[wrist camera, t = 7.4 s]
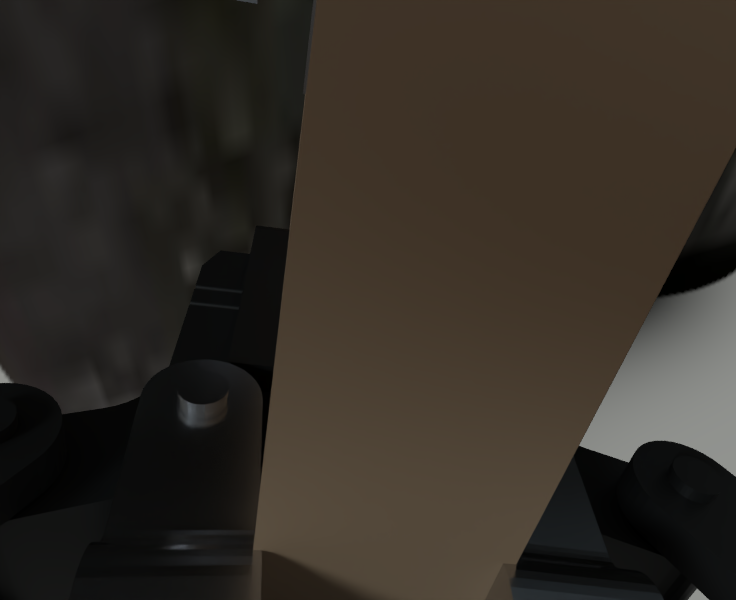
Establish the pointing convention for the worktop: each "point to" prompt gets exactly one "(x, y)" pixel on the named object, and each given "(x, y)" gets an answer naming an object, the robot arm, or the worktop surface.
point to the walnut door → (472, 270)
